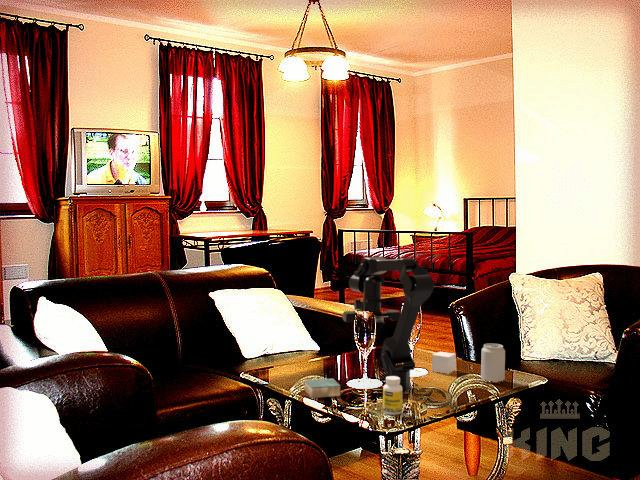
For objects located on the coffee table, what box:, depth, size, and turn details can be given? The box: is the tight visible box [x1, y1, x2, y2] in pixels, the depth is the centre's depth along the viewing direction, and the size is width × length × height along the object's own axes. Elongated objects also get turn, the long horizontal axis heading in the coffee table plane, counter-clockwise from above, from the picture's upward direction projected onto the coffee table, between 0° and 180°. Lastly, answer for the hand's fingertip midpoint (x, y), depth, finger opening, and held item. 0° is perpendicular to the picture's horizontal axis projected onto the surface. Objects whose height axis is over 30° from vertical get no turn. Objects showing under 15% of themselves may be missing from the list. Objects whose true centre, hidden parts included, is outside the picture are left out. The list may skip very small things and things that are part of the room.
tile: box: [304, 378, 341, 399], centre depth 211 cm, size 4×8×9 cm
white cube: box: [431, 351, 457, 375], centre depth 237 cm, size 6×6×6 cm
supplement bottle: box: [382, 376, 403, 416], centre depth 193 cm, size 5×5×10 cm
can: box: [480, 343, 506, 382], centre depth 224 cm, size 8×8×12 cm
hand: (371, 341), depth 227 cm, fingers closed
